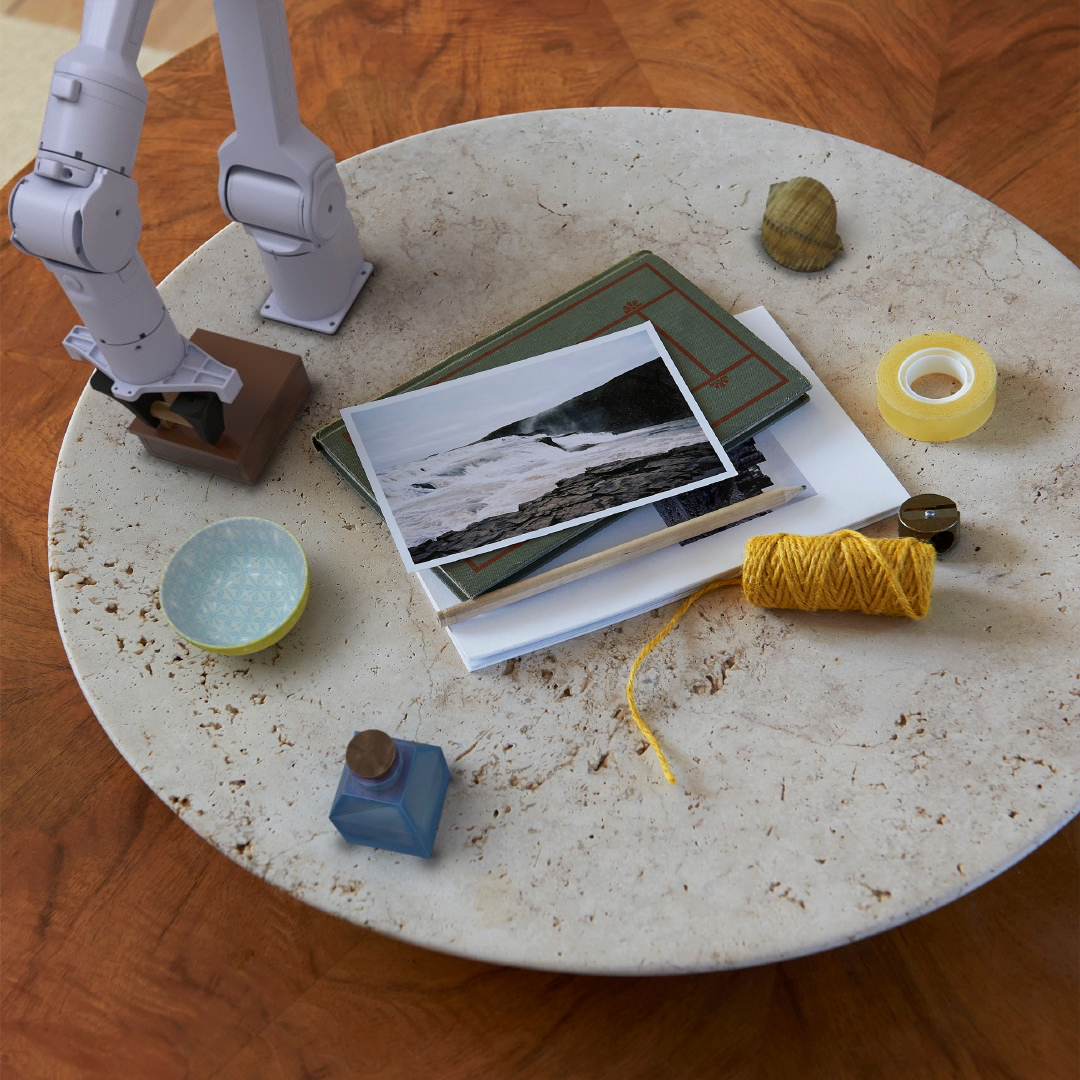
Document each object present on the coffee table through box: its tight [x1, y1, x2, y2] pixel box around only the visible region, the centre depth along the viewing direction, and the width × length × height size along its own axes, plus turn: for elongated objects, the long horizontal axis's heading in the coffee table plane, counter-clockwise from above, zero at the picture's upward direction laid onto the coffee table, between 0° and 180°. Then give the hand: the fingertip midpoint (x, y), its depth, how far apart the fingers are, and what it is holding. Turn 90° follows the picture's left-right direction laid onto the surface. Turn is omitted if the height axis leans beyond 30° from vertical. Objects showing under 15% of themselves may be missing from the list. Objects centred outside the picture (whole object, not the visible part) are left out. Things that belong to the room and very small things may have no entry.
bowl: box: [158, 515, 311, 656], centre depth 82 cm, size 11×12×6 cm
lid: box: [126, 327, 303, 465], centre depth 90 cm, size 12×11×4 cm
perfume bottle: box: [327, 728, 452, 860], centre depth 71 cm, size 6×6×12 cm
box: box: [136, 360, 313, 487], centre depth 93 cm, size 12×11×4 cm
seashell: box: [760, 176, 845, 273], centre depth 102 cm, size 10×7×8 cm
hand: (187, 427), depth 88 cm, fingers closed on lid, 5 cm apart
